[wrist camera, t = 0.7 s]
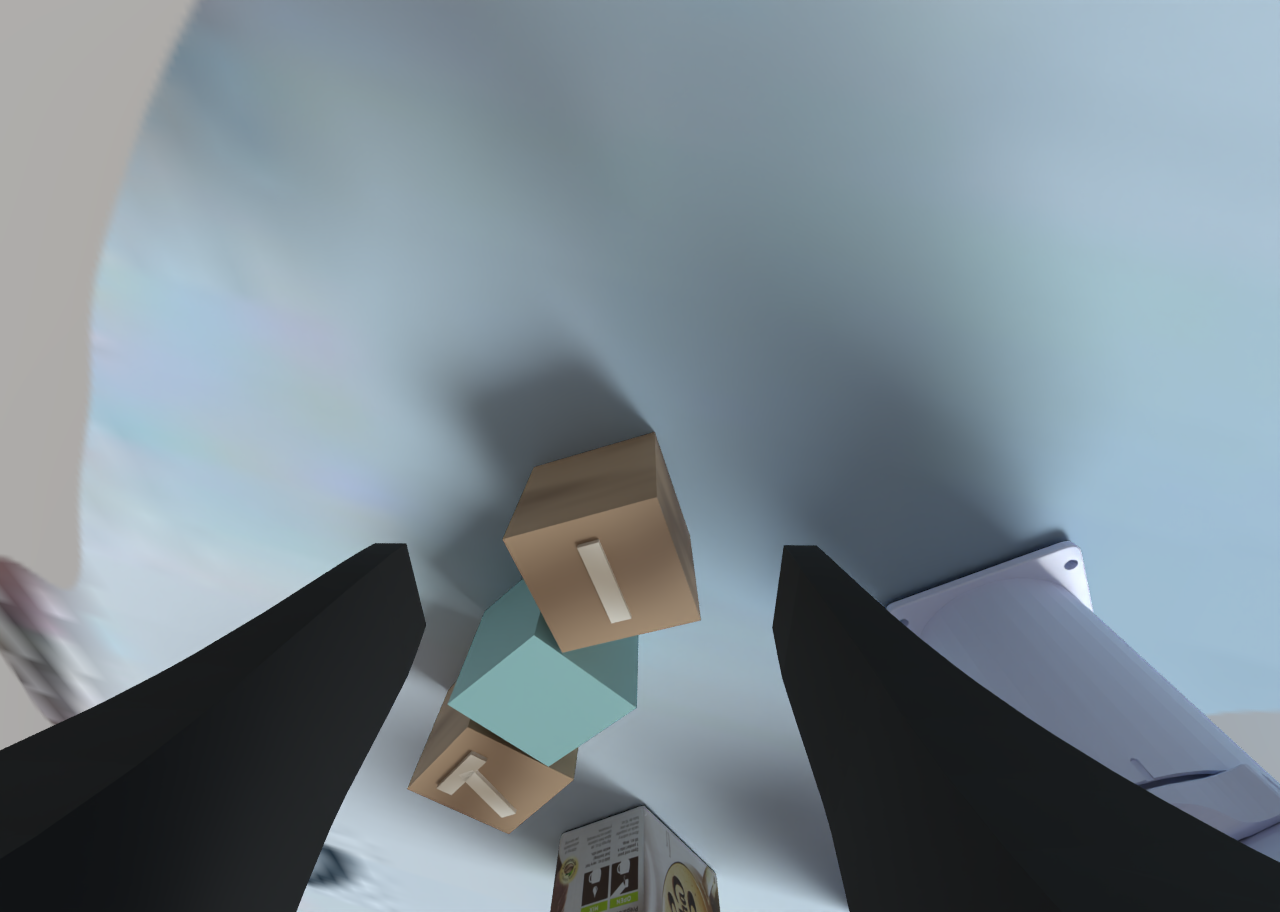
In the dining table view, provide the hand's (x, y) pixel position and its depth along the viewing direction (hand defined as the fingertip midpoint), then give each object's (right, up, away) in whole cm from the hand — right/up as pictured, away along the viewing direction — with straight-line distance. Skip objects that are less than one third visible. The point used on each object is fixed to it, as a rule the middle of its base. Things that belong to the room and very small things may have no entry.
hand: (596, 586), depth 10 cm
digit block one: (0, +1, +11) cm, 11 cm away
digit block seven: (-5, -9, +16) cm, 19 cm away
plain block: (-3, -5, +14) cm, 15 cm away
